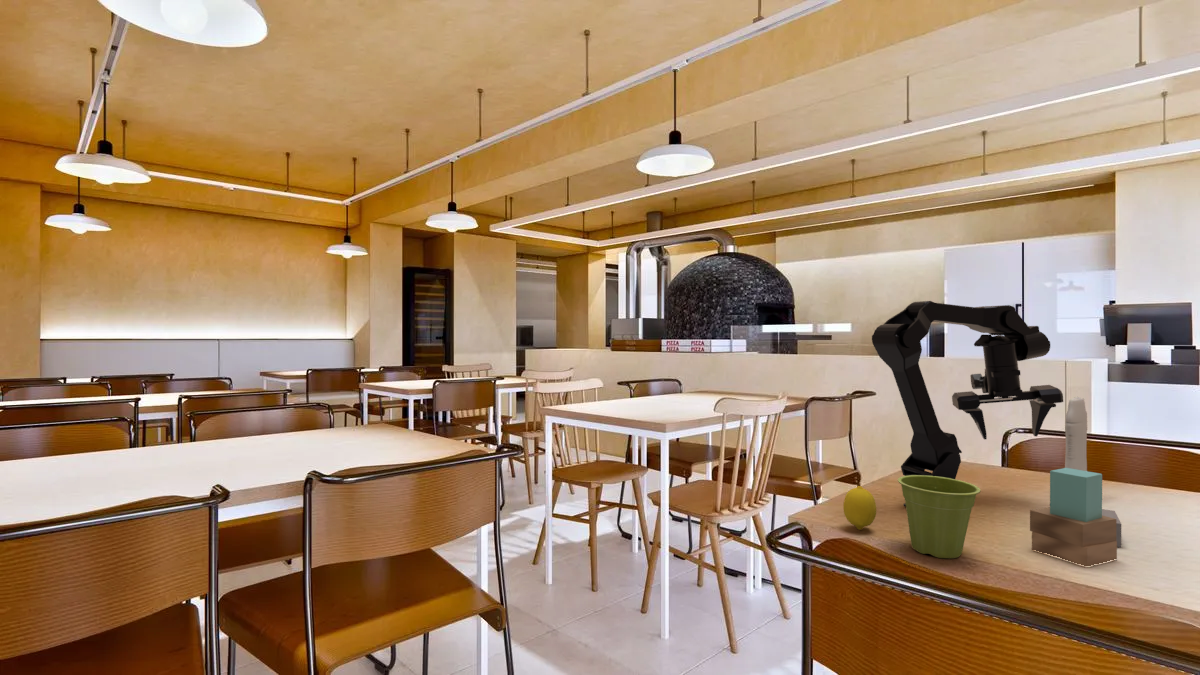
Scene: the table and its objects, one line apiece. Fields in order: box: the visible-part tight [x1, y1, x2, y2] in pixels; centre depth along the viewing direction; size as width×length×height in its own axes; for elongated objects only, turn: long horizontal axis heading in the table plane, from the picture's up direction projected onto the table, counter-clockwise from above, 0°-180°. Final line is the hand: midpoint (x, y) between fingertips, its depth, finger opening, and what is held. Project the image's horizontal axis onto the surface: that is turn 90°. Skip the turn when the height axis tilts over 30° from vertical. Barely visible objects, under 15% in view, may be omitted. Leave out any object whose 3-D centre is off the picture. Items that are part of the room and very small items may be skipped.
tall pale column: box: [1064, 396, 1088, 471], centre depth 131 cm, size 11×4×22 cm, turn 127°
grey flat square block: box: [1102, 508, 1122, 548], centre depth 106 cm, size 9×9×4 cm
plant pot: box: [897, 475, 981, 559], centre depth 98 cm, size 12×12×11 cm
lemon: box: [842, 485, 877, 530], centre depth 109 cm, size 6×6×8 cm
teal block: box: [1049, 467, 1103, 522], centre depth 96 cm, size 5×5×7 cm
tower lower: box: [1031, 531, 1118, 566], centre depth 97 cm, size 8×8×4 cm
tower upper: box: [1029, 506, 1116, 547], centre depth 97 cm, size 8×8×4 cm
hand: (1009, 437), depth 126 cm, fingers open, 9 cm apart
